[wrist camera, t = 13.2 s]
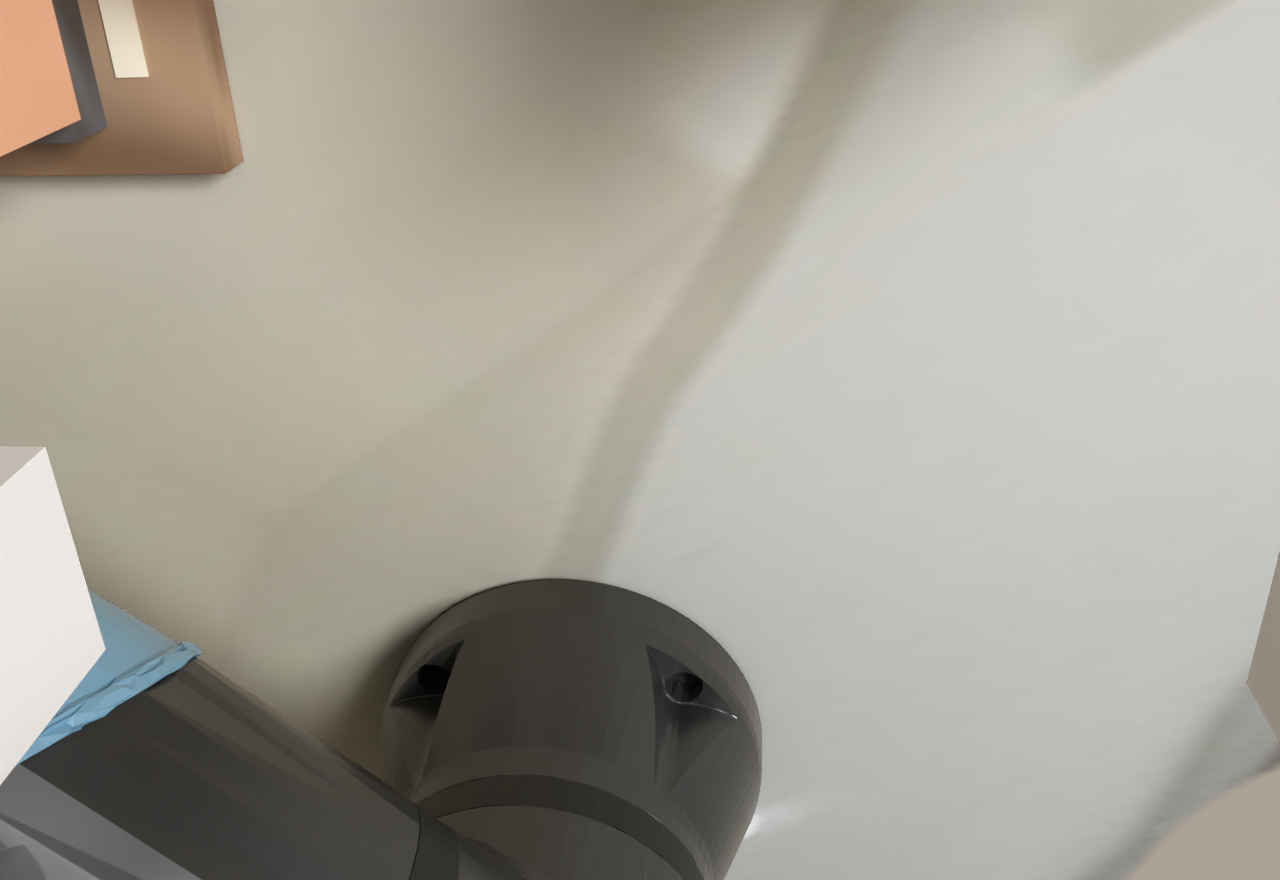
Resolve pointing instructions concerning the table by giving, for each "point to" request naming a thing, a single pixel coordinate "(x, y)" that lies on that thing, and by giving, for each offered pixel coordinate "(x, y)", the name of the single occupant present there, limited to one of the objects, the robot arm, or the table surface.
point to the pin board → (139, 93)
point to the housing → (32, 75)
